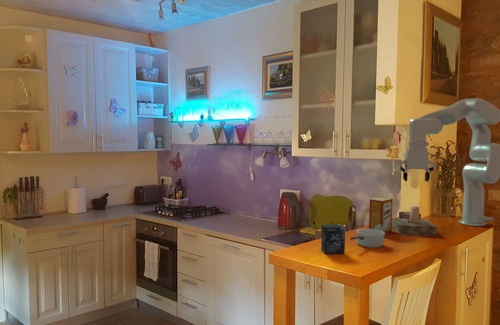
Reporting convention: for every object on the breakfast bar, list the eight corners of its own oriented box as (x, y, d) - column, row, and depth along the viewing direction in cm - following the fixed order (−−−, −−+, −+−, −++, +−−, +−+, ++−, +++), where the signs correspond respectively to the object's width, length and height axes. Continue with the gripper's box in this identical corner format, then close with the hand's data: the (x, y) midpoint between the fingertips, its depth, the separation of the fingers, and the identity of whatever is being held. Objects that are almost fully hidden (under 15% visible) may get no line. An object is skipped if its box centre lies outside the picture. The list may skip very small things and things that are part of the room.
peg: (416, 230, 201) (417, 206, 200) (419, 232, 197) (420, 207, 196) (408, 230, 202) (409, 205, 201) (410, 232, 198) (411, 207, 197)
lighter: (374, 235, 191) (375, 218, 191) (376, 234, 192) (377, 217, 192) (388, 238, 186) (389, 220, 185) (390, 237, 187) (391, 220, 187)
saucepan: (339, 248, 169) (339, 235, 169) (365, 240, 183) (365, 227, 183) (364, 254, 161) (364, 240, 161) (389, 245, 175) (390, 232, 174)
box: (325, 254, 160) (326, 227, 160) (321, 250, 166) (321, 224, 165) (345, 254, 162) (345, 227, 161) (339, 250, 167) (340, 223, 166)
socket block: (425, 228, 207) (425, 219, 206) (436, 236, 191) (437, 226, 190) (392, 227, 208) (392, 218, 208) (400, 235, 192) (401, 225, 192)
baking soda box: (378, 228, 205) (379, 196, 203) (391, 231, 200) (392, 198, 199) (368, 231, 198) (369, 198, 197) (381, 234, 193) (382, 200, 192)
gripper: (433, 144, 200) (432, 180, 201) (396, 144, 201) (395, 179, 203) (439, 145, 192) (437, 182, 194) (400, 145, 194) (399, 181, 195)
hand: (416, 181), depth 198 cm, fingers open, 9 cm apart
